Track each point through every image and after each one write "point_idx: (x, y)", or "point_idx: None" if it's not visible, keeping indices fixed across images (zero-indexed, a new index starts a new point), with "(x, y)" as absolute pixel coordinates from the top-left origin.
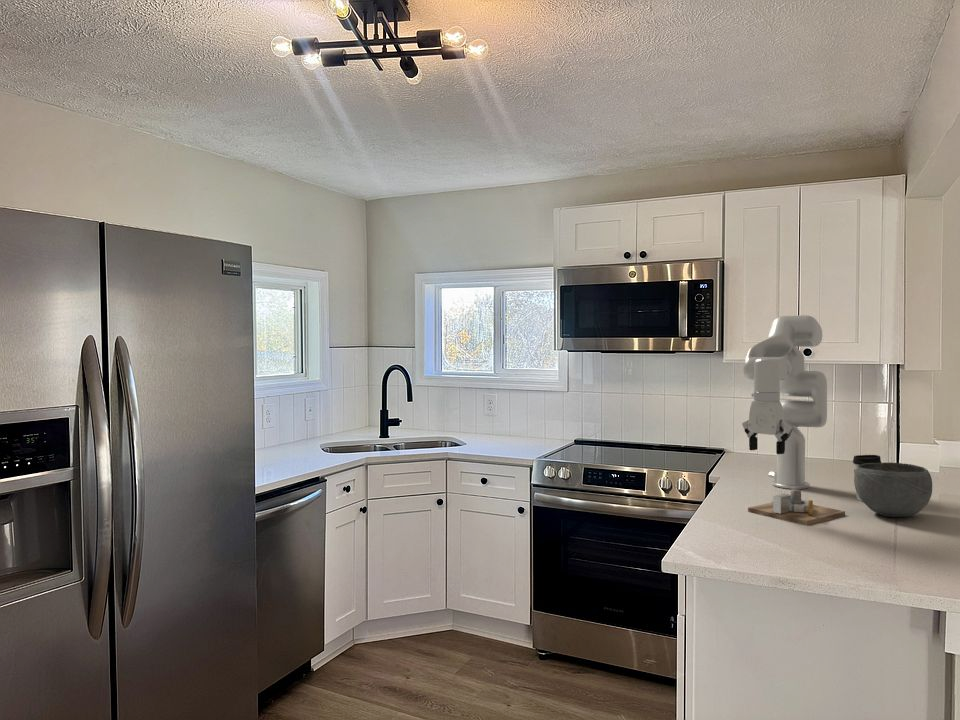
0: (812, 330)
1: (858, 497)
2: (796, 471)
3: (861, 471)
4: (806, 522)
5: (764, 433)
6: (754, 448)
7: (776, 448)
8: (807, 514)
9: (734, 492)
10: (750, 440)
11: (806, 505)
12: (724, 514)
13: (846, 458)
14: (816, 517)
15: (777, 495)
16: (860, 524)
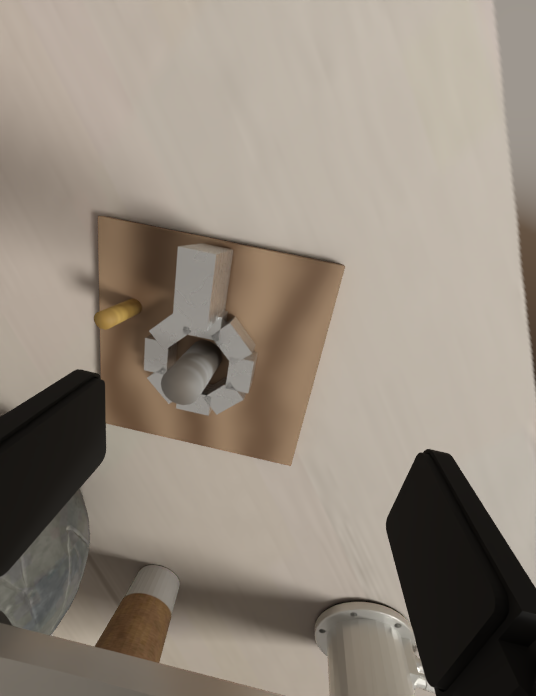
0: None
1: (166, 576)
2: (343, 675)
3: None
4: (101, 216)
5: (57, 659)
6: (405, 500)
7: (61, 407)
8: (145, 312)
9: (485, 497)
10: (499, 560)
11: (146, 339)
12: (403, 139)
13: None
14: (106, 292)
15: (207, 276)
16: (28, 343)
